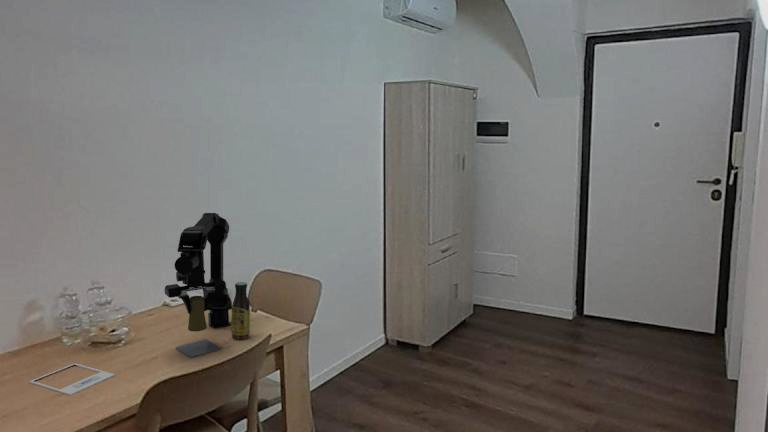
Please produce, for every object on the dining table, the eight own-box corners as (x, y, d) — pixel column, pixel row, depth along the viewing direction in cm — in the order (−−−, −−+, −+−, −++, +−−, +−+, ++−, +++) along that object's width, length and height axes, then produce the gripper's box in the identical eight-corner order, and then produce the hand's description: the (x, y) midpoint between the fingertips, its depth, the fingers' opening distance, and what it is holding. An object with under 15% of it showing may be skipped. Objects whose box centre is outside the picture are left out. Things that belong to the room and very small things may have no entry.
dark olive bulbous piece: (209, 325, 197) (208, 294, 195) (202, 331, 191) (201, 299, 189) (192, 324, 197) (191, 293, 196) (184, 331, 191) (183, 298, 190)
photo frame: (70, 393, 161) (29, 380, 169) (70, 397, 161) (29, 384, 169) (115, 373, 174) (74, 362, 182) (115, 377, 174) (75, 365, 182)
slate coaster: (205, 340, 203) (205, 339, 203) (221, 349, 195) (221, 347, 195) (175, 348, 195) (175, 347, 195) (191, 358, 188) (191, 356, 187)
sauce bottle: (228, 338, 205) (226, 284, 202) (238, 333, 211) (237, 279, 208) (243, 341, 203) (242, 286, 200) (254, 335, 208) (252, 281, 205)
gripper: (215, 258, 203) (216, 301, 205) (159, 265, 192) (161, 310, 195) (225, 265, 194) (227, 310, 196) (168, 272, 183) (170, 320, 186)
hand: (196, 312), depth 193 cm, fingers closed on dark olive bulbous piece, 5 cm apart
